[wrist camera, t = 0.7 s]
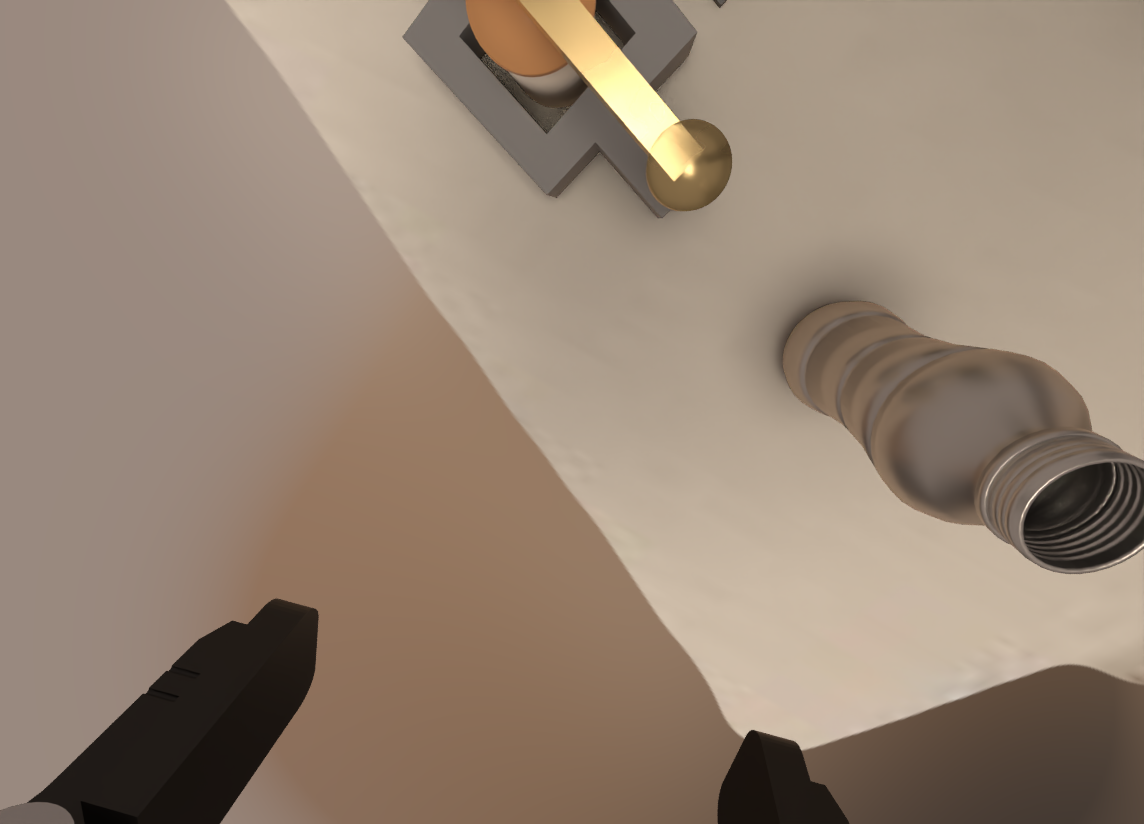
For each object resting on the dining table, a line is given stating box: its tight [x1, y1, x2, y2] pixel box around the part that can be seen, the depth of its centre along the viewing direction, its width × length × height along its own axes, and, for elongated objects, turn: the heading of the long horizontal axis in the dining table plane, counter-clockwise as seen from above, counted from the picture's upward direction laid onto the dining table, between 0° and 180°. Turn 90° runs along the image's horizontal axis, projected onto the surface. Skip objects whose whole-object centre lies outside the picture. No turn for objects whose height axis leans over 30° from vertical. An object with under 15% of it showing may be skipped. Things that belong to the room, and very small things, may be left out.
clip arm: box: [514, 0, 732, 211], centre depth 20 cm, size 3×16×4 cm, turn 44°
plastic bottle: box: [783, 301, 1144, 574], centre depth 24 cm, size 6×7×20 cm
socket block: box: [403, 0, 697, 218], centre depth 25 cm, size 10×15×11 cm, turn 44°
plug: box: [465, 0, 596, 108], centre depth 25 cm, size 5×5×9 cm
